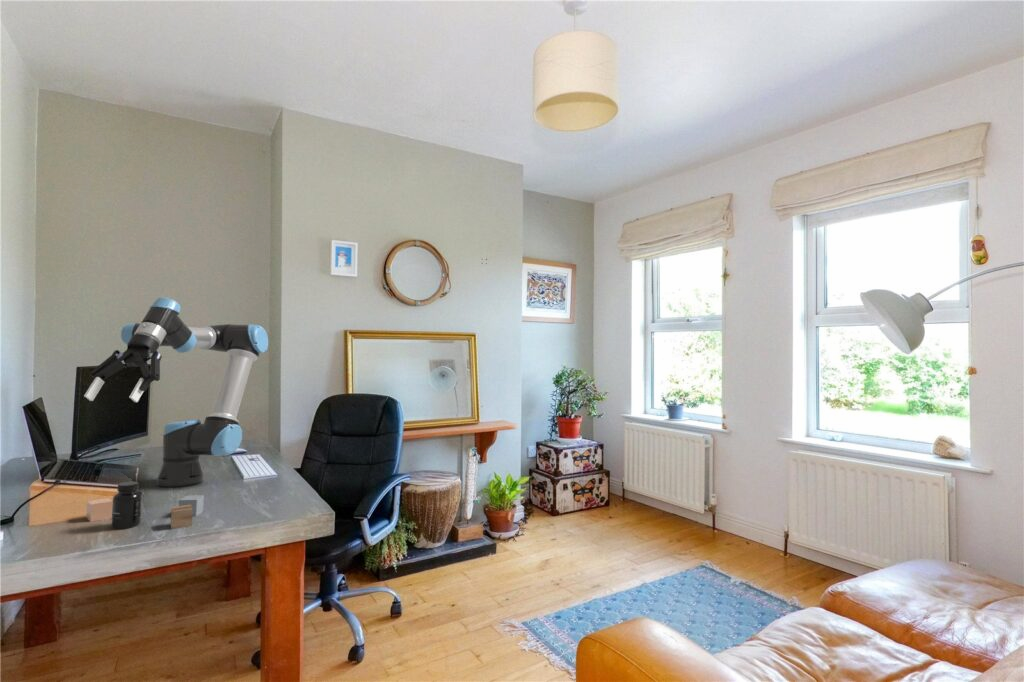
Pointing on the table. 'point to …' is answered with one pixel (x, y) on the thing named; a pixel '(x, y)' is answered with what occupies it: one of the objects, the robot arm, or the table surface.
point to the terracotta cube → (99, 509)
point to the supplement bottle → (127, 506)
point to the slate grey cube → (193, 503)
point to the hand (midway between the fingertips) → (110, 399)
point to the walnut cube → (181, 516)
